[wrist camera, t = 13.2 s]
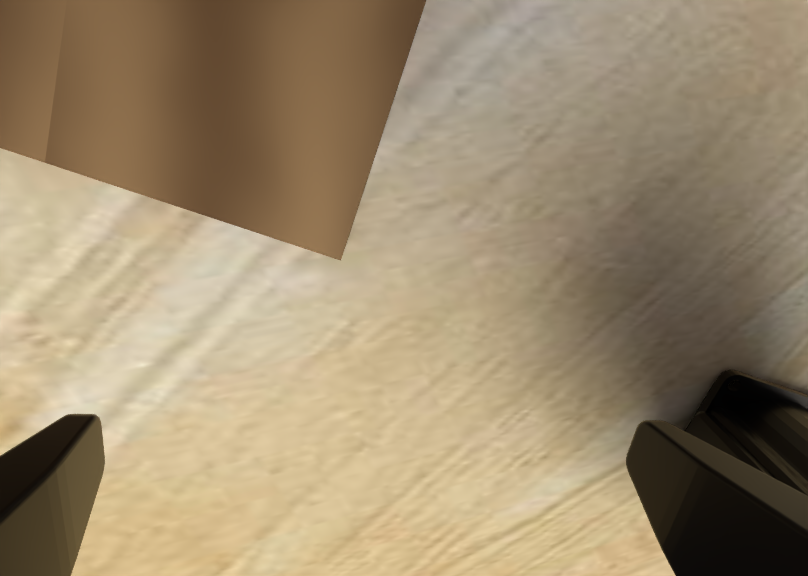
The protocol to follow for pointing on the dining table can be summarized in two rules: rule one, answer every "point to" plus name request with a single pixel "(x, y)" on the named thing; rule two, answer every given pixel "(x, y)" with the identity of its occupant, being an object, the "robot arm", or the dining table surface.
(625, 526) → the dining table surface
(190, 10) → the walnut board
